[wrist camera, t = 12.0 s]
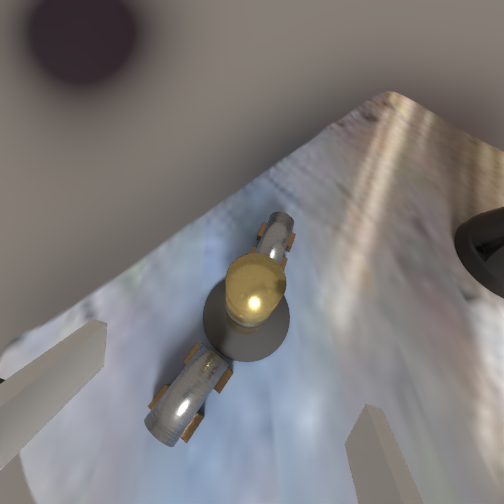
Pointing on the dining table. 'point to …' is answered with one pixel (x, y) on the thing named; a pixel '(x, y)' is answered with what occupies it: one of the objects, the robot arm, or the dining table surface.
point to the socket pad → (240, 344)
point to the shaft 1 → (186, 396)
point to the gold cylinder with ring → (252, 292)
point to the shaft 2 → (275, 237)
